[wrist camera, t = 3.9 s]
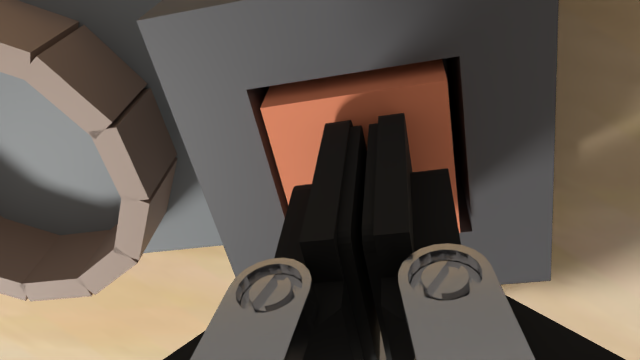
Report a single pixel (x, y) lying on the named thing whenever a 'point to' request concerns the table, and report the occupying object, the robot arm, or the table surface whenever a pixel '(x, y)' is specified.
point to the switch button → (361, 117)
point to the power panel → (245, 125)
